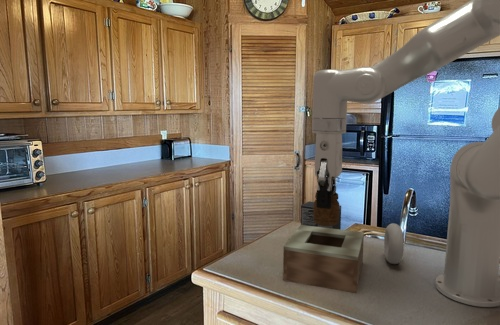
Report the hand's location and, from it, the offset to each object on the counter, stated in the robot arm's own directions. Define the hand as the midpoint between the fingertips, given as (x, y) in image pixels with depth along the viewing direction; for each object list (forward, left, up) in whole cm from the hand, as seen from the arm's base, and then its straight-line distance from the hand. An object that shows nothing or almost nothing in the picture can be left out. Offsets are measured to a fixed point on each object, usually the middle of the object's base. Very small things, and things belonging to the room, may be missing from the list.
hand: (326, 203), depth 83 cm
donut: (-15, -11, -17) cm, 25 cm away
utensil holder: (0, 0, -5) cm, 5 cm away
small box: (+5, -21, -17) cm, 27 cm away
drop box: (0, 0, -17) cm, 17 cm away
